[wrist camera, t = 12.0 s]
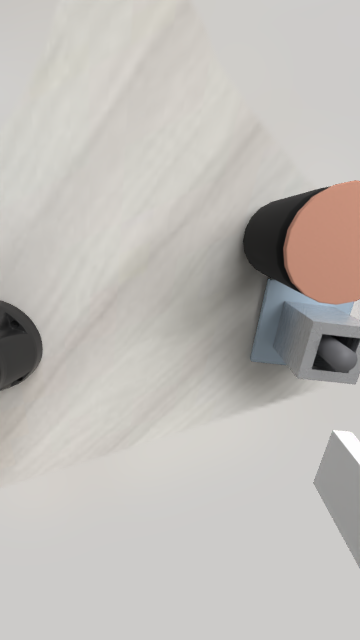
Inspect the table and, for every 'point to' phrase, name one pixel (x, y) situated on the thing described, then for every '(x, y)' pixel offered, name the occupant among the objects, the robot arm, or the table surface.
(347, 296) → the coffee jar
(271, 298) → the blue base with peg
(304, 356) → the square metal tube
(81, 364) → the table surface
